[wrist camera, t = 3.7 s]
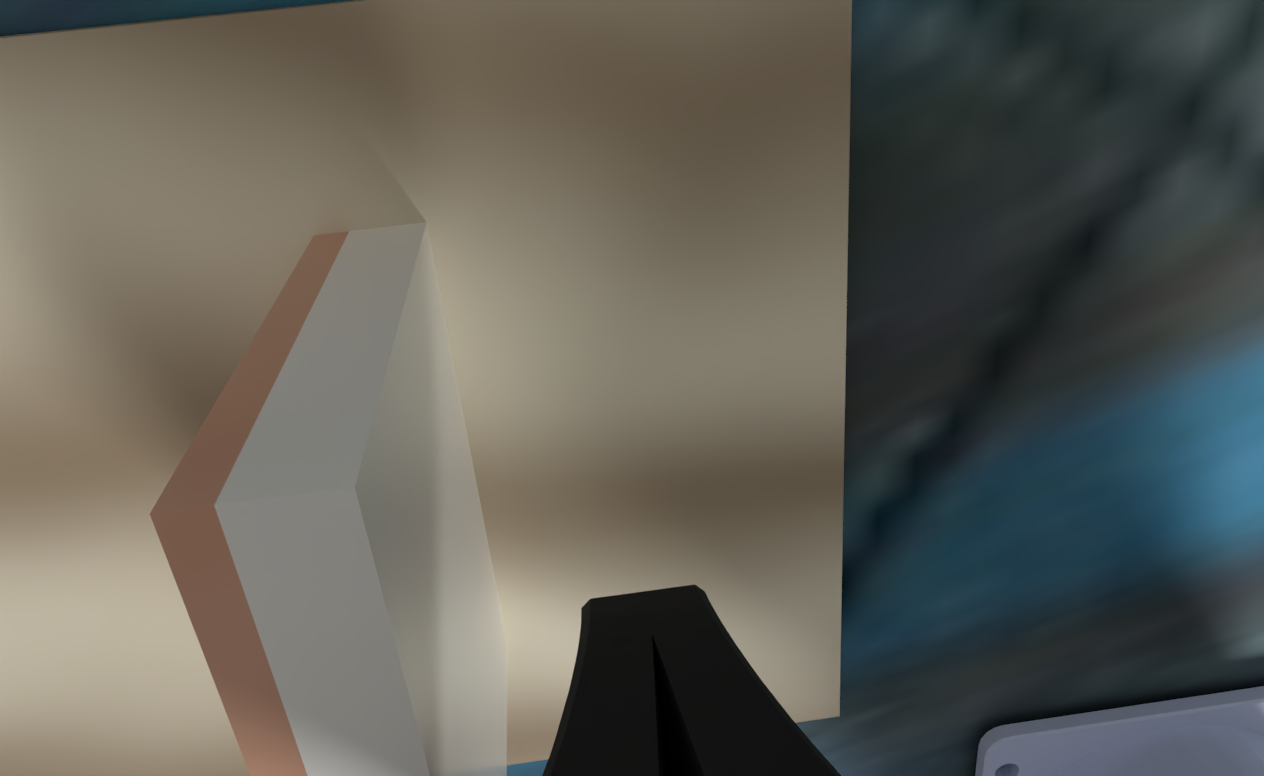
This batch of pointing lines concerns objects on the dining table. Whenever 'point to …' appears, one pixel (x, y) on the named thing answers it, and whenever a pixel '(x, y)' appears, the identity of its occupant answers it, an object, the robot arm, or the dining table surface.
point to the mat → (474, 313)
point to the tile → (345, 530)
